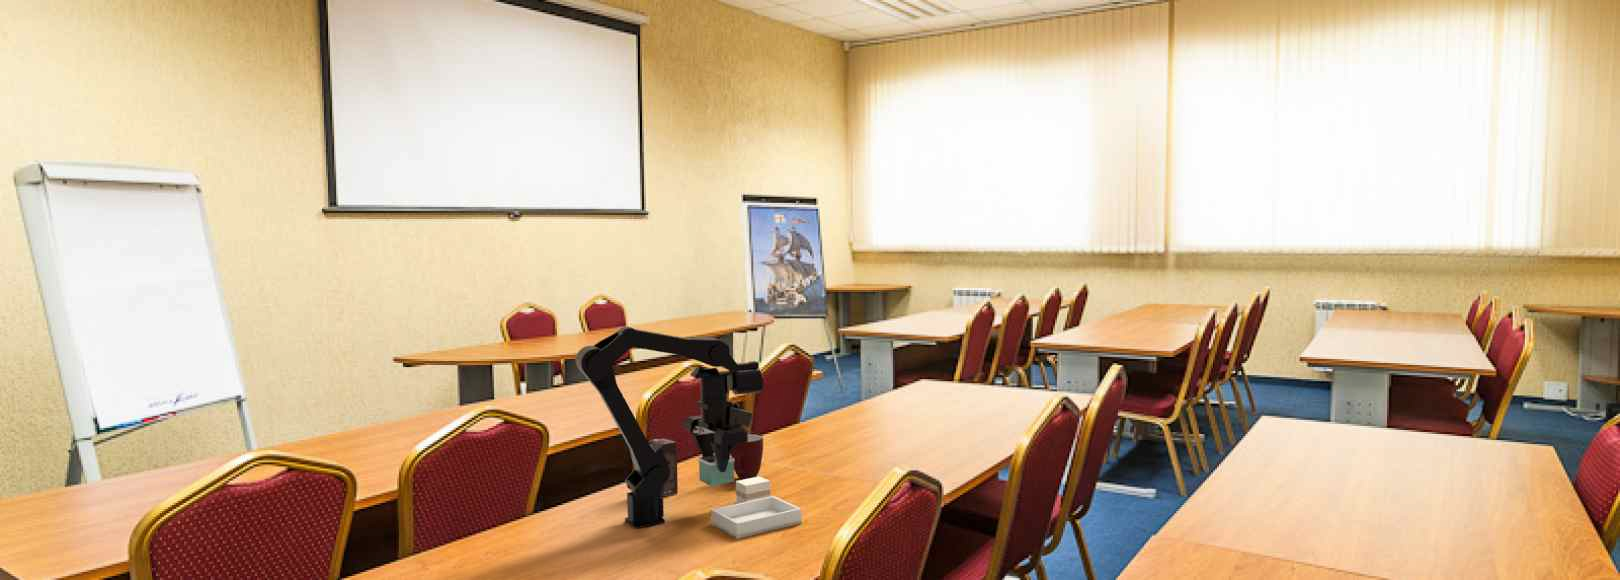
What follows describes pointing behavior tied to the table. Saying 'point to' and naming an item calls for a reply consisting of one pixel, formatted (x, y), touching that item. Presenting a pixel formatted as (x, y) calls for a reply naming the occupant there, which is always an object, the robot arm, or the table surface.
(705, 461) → the tin
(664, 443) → the box
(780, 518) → the tote
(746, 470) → the mug
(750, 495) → the carton
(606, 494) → the table surface
